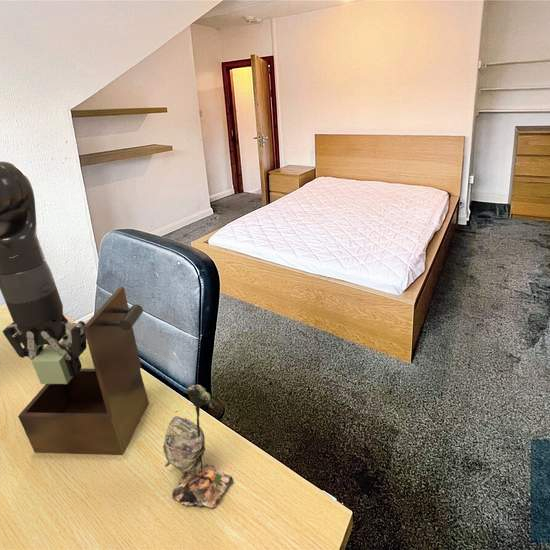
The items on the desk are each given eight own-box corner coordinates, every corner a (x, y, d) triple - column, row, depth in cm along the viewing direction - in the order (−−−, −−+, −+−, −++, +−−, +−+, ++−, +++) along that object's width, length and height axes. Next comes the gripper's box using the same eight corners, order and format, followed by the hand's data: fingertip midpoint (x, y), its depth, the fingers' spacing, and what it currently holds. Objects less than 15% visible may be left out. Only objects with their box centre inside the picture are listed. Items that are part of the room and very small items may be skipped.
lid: (82, 326, 61) (117, 327, 60) (119, 286, 72) (149, 287, 72) (107, 415, 68) (138, 416, 68) (137, 366, 80) (164, 367, 79)
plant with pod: (192, 451, 72) (172, 360, 63) (240, 483, 66) (225, 386, 57) (155, 486, 66) (127, 390, 58) (204, 524, 60) (181, 424, 51)
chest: (34, 452, 74) (17, 416, 70) (71, 402, 86) (59, 368, 82) (122, 455, 72) (110, 417, 68) (148, 403, 84) (139, 368, 80)
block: (40, 384, 72) (31, 361, 70) (56, 365, 76) (48, 343, 74) (67, 384, 71) (58, 361, 69) (81, 365, 76) (74, 343, 74)
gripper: (83, 279, 69) (108, 360, 76) (4, 280, 70) (36, 360, 78) (58, 301, 62) (88, 387, 70) (-28, 302, 64) (10, 387, 71)
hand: (60, 373), depth 74 cm, fingers closed on block, 5 cm apart
